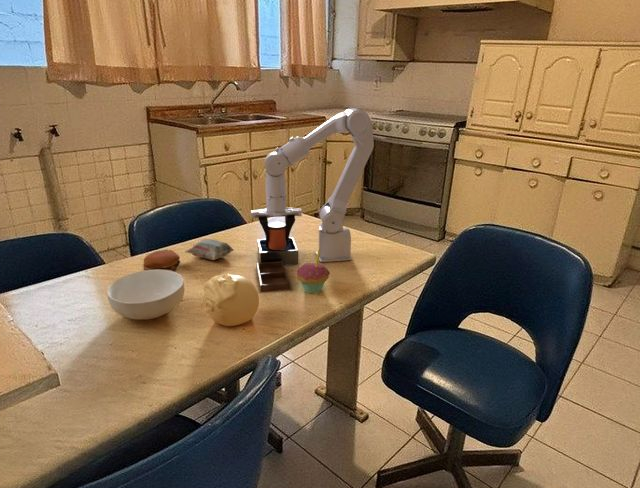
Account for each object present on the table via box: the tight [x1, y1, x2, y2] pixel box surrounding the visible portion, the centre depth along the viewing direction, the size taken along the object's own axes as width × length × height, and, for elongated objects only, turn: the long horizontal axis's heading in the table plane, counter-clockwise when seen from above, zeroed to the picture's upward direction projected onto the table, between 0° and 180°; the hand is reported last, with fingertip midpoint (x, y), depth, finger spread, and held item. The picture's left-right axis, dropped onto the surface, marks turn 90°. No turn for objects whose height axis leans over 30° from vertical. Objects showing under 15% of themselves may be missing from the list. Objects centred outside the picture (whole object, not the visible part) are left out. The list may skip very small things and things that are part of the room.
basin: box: [257, 236, 299, 266], centre depth 136 cm, size 11×11×4 cm
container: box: [268, 221, 286, 250], centre depth 134 cm, size 5×5×7 cm
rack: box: [256, 261, 291, 293], centre depth 123 cm, size 8×14×2 cm, turn 12°
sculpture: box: [203, 272, 260, 327], centre depth 102 cm, size 12×12×11 cm
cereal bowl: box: [106, 270, 186, 320], centre depth 105 cm, size 17×17×7 cm
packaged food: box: [184, 238, 235, 261], centre depth 137 cm, size 9×12×5 cm
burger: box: [143, 249, 181, 271], centre depth 128 cm, size 10×9×5 cm
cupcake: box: [295, 248, 331, 294], centre depth 116 cm, size 9×8×12 cm
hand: (277, 240), depth 135 cm, fingers closed on container, 5 cm apart
